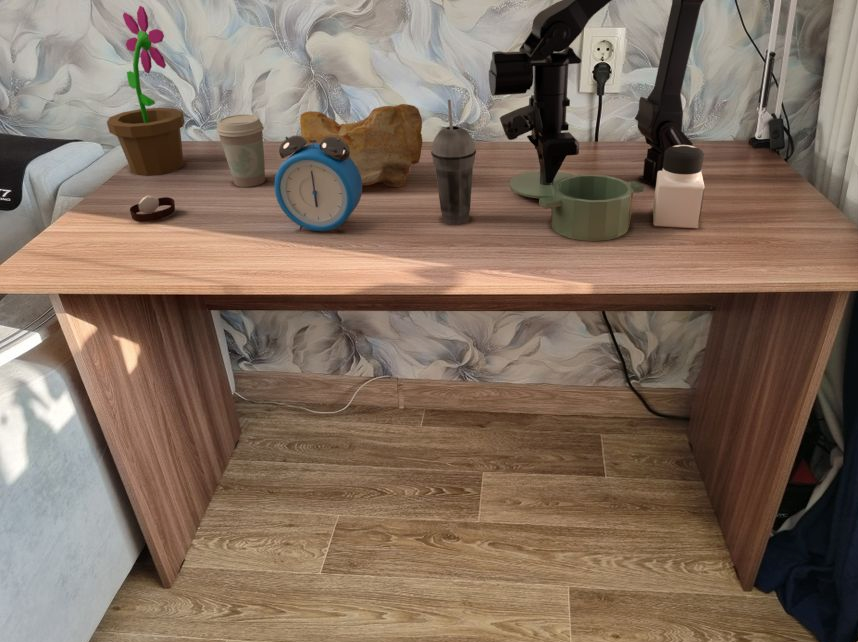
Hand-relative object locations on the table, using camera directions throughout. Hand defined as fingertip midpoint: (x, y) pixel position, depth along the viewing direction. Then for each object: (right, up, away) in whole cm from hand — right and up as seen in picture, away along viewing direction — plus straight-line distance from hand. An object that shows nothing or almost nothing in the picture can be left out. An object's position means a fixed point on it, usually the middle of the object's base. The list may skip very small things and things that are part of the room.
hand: (547, 180), depth 133 cm
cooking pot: (+6, -10, -12) cm, 17 cm away
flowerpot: (-79, +7, +18) cm, 81 cm away
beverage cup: (-17, -9, -9) cm, 21 cm away
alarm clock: (-39, -10, -10) cm, 41 cm away
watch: (-69, -8, -5) cm, 70 cm away
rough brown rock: (-33, +2, +9) cm, 34 cm away
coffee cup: (-57, +2, +9) cm, 58 cm away
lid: (0, -1, +1) cm, 1 cm away
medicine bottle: (+20, -9, -11) cm, 25 cm away
